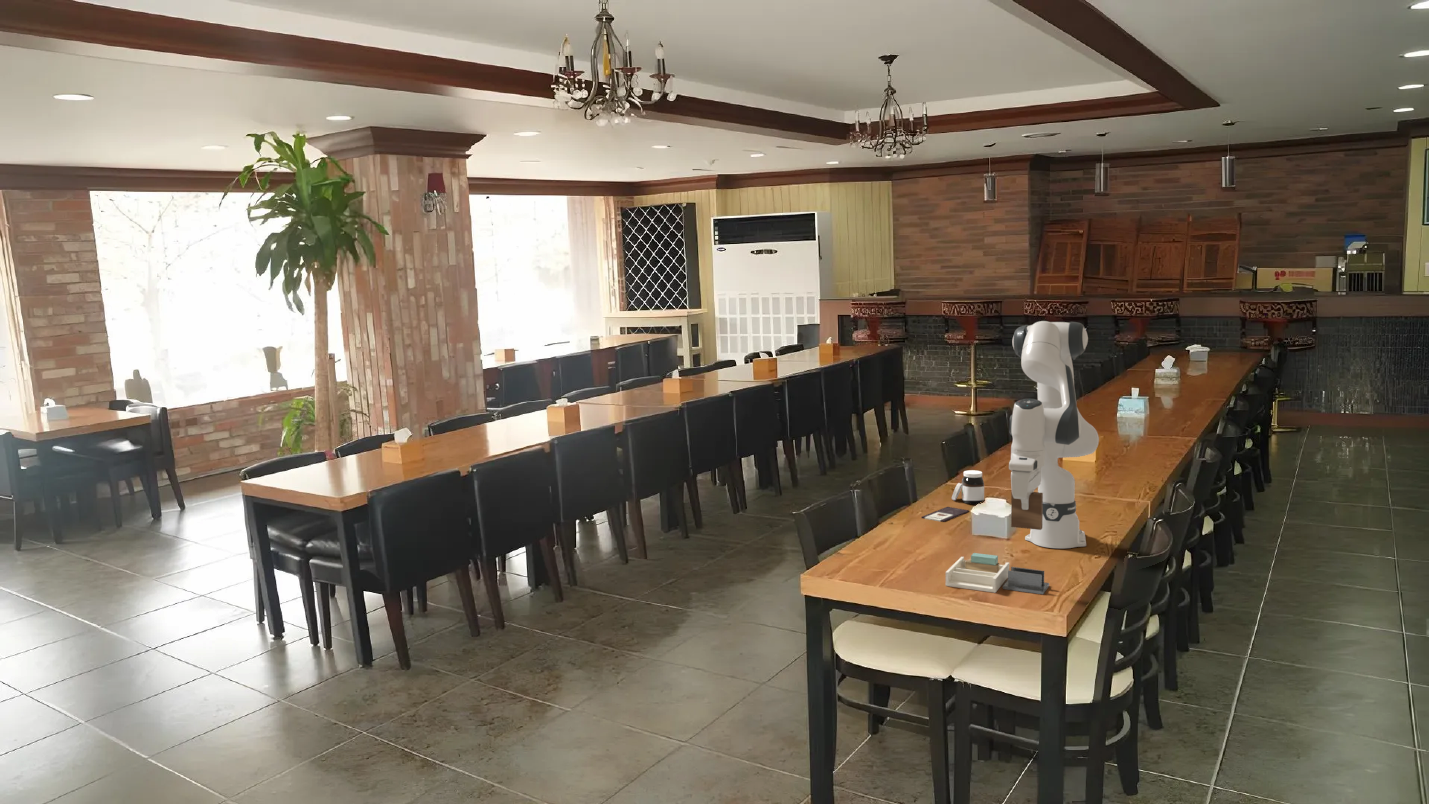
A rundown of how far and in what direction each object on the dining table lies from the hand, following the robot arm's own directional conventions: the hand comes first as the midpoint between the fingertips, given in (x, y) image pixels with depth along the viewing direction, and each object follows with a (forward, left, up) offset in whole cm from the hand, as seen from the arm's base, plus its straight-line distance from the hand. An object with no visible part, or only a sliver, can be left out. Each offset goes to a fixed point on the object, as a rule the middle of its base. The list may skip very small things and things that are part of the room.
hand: (1026, 507), depth 267 cm
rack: (0, -13, -23) cm, 27 cm away
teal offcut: (-5, -13, -19) cm, 24 cm away
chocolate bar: (-67, -43, -24) cm, 83 cm away
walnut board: (0, 0, -6) cm, 6 cm away
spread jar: (-89, -41, -23) cm, 101 cm away
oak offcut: (-5, -13, -22) cm, 26 cm away
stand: (0, 0, -23) cm, 23 cm away
